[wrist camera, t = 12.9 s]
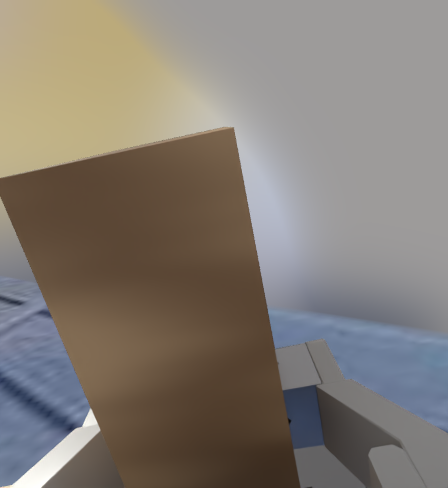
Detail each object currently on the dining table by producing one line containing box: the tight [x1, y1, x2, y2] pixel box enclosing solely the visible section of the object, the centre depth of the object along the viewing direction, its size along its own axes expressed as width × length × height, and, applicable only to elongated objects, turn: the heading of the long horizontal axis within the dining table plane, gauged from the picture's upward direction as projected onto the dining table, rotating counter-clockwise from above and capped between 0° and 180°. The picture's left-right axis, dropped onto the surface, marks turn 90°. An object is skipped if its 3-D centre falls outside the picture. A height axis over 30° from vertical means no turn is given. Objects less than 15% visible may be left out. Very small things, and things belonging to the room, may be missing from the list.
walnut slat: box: [0, 127, 301, 488], centre depth 9 cm, size 3×5×16 cm, turn 1°
